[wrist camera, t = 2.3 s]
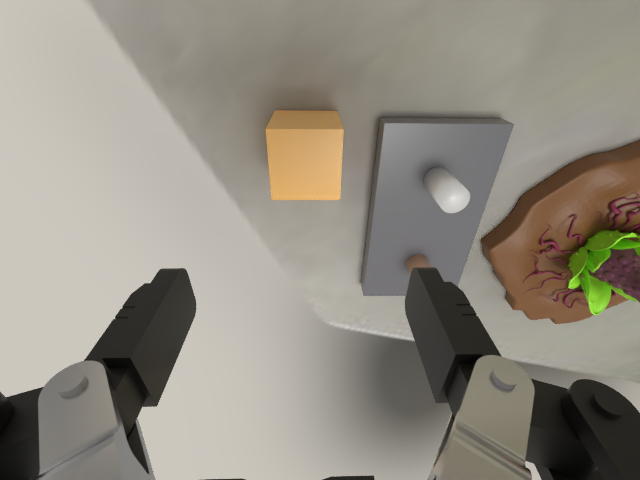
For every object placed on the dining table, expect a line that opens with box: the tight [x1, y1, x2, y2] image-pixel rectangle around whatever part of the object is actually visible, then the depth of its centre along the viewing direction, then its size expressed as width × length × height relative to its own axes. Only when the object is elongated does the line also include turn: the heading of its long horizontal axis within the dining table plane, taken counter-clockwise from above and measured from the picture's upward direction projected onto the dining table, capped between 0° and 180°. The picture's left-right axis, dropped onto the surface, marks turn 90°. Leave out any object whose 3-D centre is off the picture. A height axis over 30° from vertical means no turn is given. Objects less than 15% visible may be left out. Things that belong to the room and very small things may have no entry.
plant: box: [481, 140, 640, 324], centre depth 28 cm, size 20×20×11 cm
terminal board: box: [361, 118, 514, 296], centre depth 27 cm, size 18×10×6 cm, turn 179°
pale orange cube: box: [266, 110, 344, 200], centre depth 23 cm, size 5×5×6 cm
